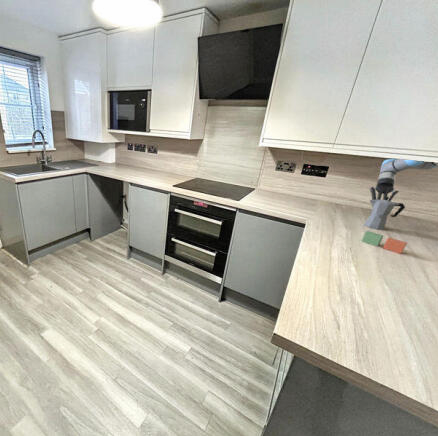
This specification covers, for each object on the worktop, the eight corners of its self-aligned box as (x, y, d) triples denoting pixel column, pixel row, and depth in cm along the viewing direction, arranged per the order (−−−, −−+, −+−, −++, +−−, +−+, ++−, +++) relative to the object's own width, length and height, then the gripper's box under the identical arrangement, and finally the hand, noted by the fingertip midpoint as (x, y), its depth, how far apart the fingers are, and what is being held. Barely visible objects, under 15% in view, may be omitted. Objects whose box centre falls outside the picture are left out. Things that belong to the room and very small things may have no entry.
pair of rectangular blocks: (402, 252, 106) (407, 242, 104) (400, 254, 105) (405, 244, 103) (363, 239, 117) (367, 230, 115) (361, 241, 115) (365, 231, 113)
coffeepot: (362, 226, 135) (375, 196, 128) (357, 221, 143) (369, 193, 136) (397, 233, 129) (413, 201, 122) (389, 227, 137) (404, 197, 130)
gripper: (397, 186, 147) (390, 217, 140) (370, 182, 154) (362, 212, 148) (403, 179, 141) (396, 211, 135) (374, 175, 148) (366, 206, 142)
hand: (378, 212), depth 141 cm, fingers closed
